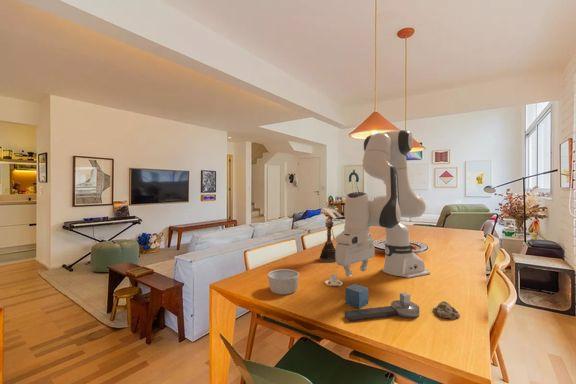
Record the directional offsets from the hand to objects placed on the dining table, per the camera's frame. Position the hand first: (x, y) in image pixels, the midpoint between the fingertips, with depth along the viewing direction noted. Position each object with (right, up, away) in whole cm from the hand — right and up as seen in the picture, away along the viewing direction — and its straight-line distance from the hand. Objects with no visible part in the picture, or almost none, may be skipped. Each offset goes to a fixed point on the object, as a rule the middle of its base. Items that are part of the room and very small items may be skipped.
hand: (356, 273), depth 101 cm
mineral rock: (+29, -12, -7) cm, 32 cm away
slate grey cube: (0, -12, +1) cm, 12 cm away
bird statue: (+2, -10, +61) cm, 62 cm away
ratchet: (+7, -12, -8) cm, 16 cm away
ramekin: (-27, -12, +15) cm, 33 cm away
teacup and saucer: (-7, -12, +21) cm, 25 cm away
